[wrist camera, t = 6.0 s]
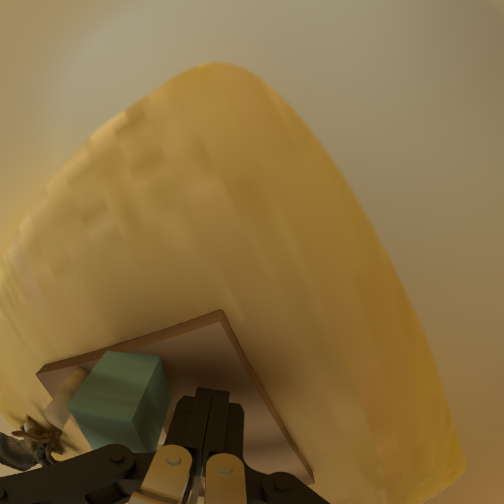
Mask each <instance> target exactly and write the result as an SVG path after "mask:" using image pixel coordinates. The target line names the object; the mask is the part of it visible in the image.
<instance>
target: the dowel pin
mask: <svg viewBox="0 0 504 504" xmlns="http://www.w3.org/2000/svg"><path fill="white" fill-rule="evenodd" d="M89 374H90V372H89V371H88V370H87V369H85V368H83V367H78V368H77V369H76V370H75V371H74V372H73V374H72V375H71V376H70V378H69V379H68V380H67V381H66V383H65V384H64V385H63V387H62V388H61V389H60V390H59V392H58V393H57V394H56V396H55V397H54V398H53V400H52V401H51V402H50V404H49V405H48V406H47V408H46V409H45V411H44V416H45V418H46V419H47V420H48V421H49V422H50V423H51V424H52V425H54V426H55V427H57V428H63V427H64V425H65V424H66V422H67V421H68V419H69V417H70V416H71V414H72V413H71V412H70V410H69V408H68V406H67V405H68V404H69V402H70V401H71V399H72V398H73V396H74V395H75V393H76V392H77V391H78V389H79V388H80V386H81V385H82V384H83V382H84V381H85V379H86V378H87V377H88V375H89Z"/></svg>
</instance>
